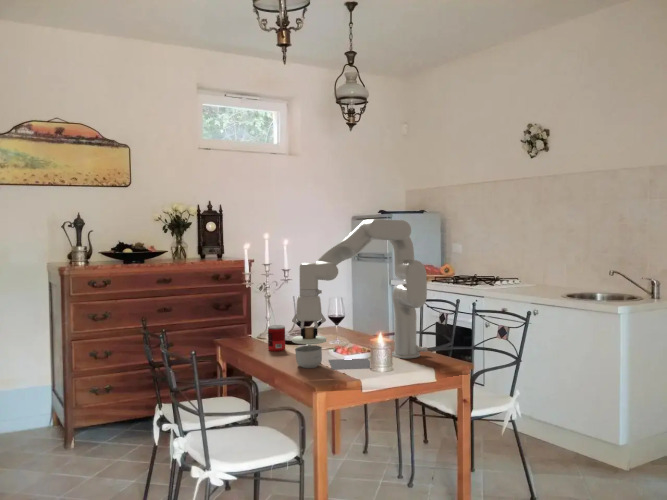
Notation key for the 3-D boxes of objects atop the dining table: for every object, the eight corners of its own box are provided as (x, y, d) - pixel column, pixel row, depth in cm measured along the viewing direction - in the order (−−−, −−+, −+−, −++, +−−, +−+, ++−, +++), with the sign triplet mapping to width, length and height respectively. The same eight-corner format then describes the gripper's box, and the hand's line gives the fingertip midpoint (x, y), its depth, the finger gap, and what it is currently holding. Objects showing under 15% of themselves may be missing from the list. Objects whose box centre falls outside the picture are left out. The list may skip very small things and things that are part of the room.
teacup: (318, 370, 234) (318, 350, 234) (292, 369, 236) (291, 349, 236) (326, 362, 248) (325, 343, 247) (300, 361, 250) (300, 342, 249)
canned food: (288, 349, 275) (288, 325, 275) (279, 352, 268) (278, 328, 267) (274, 347, 279) (274, 324, 278) (264, 350, 272) (264, 327, 271)
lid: (324, 337, 249) (324, 324, 249) (327, 343, 235) (327, 330, 235) (291, 337, 247) (291, 324, 247) (292, 344, 234) (292, 330, 233)
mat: (367, 359, 253) (367, 358, 253) (374, 369, 236) (374, 368, 236) (328, 360, 251) (328, 359, 251) (332, 370, 234) (332, 369, 234)
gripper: (328, 291, 245) (328, 335, 246) (288, 292, 243) (288, 336, 244) (330, 293, 238) (330, 339, 238) (288, 294, 236) (288, 340, 237)
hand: (309, 337), depth 241 cm, fingers closed on lid, 4 cm apart
